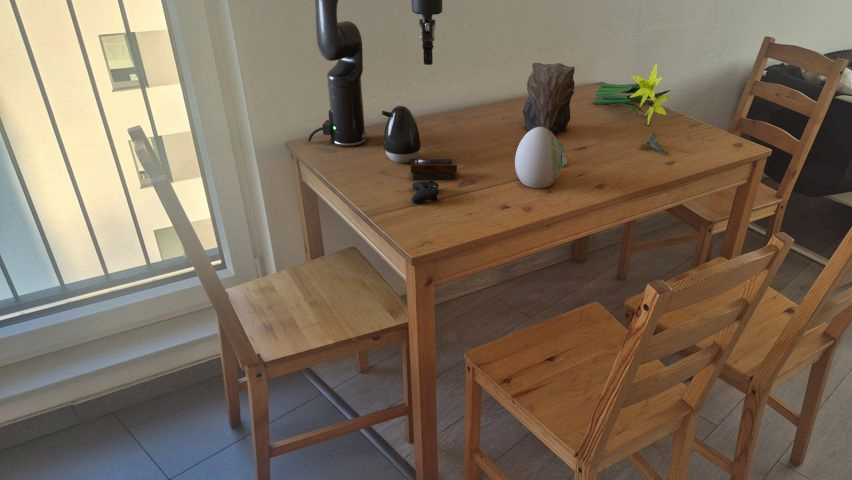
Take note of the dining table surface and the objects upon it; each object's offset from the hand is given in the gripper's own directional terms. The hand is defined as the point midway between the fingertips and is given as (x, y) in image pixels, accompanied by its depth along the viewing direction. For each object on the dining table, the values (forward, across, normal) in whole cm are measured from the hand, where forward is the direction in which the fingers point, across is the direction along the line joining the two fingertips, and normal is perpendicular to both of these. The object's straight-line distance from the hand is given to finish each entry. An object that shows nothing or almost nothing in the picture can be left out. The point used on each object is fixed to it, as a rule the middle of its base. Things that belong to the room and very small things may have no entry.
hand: (428, 59), depth 173 cm
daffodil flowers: (+28, -41, +66) cm, 83 cm away
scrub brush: (+28, +9, +1) cm, 30 cm away
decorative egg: (+28, +13, +28) cm, 42 cm away
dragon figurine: (+28, -10, +67) cm, 73 cm away
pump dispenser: (+28, -2, -8) cm, 29 cm away
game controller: (+28, +21, -1) cm, 36 cm away
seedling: (+28, 0, +35) cm, 45 cm away
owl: (+28, -25, +36) cm, 52 cm away
